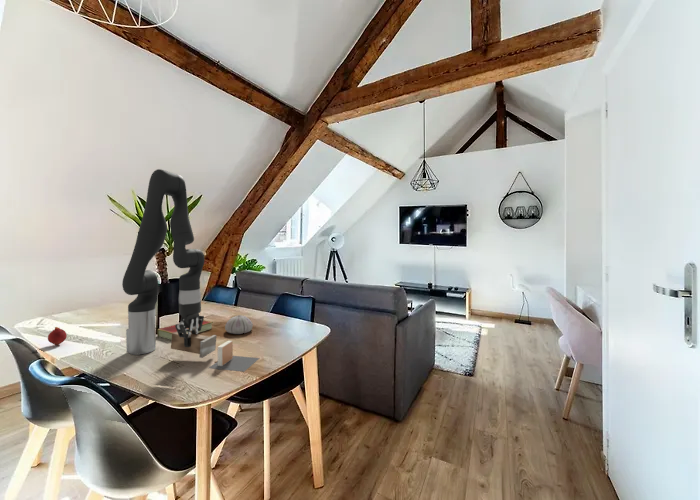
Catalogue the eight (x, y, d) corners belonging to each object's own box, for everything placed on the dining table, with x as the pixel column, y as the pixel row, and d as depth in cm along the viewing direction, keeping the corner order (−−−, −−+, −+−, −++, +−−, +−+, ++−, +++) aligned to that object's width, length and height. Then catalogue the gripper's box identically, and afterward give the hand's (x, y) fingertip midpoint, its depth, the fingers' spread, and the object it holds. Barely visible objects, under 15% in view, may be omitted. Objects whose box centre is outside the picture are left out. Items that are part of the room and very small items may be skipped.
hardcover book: (157, 337, 142) (157, 328, 142) (197, 326, 161) (197, 318, 161) (172, 341, 137) (172, 332, 136) (212, 329, 155) (212, 321, 155)
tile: (217, 365, 110) (217, 346, 110) (228, 358, 117) (228, 340, 117) (222, 366, 110) (222, 347, 110) (232, 358, 117) (232, 340, 117)
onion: (66, 341, 133) (66, 324, 133) (67, 345, 129) (66, 326, 128) (48, 344, 129) (47, 326, 129) (47, 348, 125) (47, 329, 124)
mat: (208, 369, 108) (208, 368, 108) (227, 356, 120) (227, 355, 120) (244, 372, 106) (244, 371, 106) (259, 359, 118) (259, 358, 118)
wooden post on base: (165, 351, 113) (167, 335, 113) (180, 343, 121) (182, 329, 121) (202, 357, 111) (203, 342, 111) (215, 350, 119) (216, 335, 119)
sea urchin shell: (243, 325, 161) (243, 311, 161) (258, 331, 152) (258, 315, 152) (219, 331, 151) (219, 315, 150) (233, 337, 142) (233, 321, 142)
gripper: (193, 297, 123) (194, 338, 124) (167, 304, 109) (168, 351, 110) (210, 297, 122) (210, 339, 122) (186, 305, 108) (187, 352, 109)
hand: (190, 345), depth 116 cm, fingers closed on wooden post on base, 3 cm apart
